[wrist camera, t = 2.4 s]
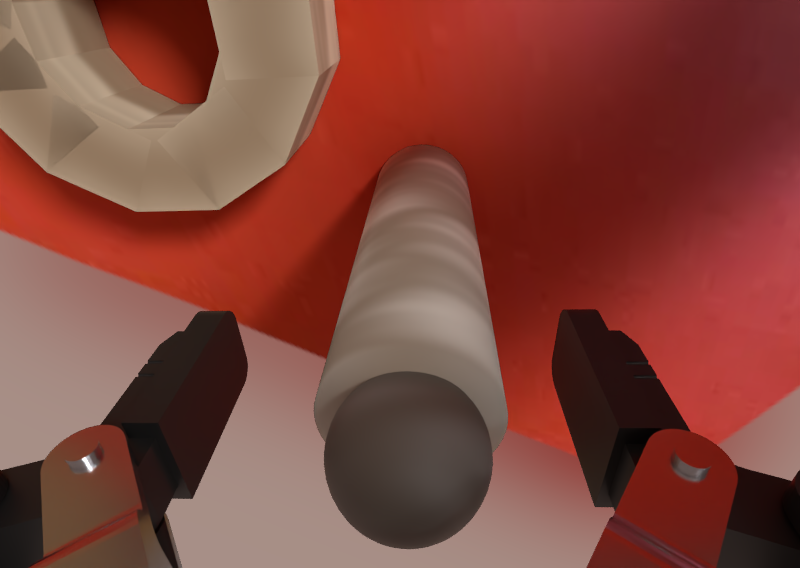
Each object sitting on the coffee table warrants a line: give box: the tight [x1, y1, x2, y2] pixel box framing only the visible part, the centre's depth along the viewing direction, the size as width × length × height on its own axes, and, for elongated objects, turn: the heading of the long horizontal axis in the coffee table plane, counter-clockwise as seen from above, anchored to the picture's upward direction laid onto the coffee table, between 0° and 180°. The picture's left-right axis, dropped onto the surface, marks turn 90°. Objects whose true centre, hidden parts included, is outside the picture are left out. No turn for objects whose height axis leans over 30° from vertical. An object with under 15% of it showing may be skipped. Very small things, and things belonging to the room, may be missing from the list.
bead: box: [0, 0, 340, 212], centre depth 16 cm, size 12×12×4 cm
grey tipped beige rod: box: [314, 145, 508, 549], centre depth 14 cm, size 4×4×15 cm
